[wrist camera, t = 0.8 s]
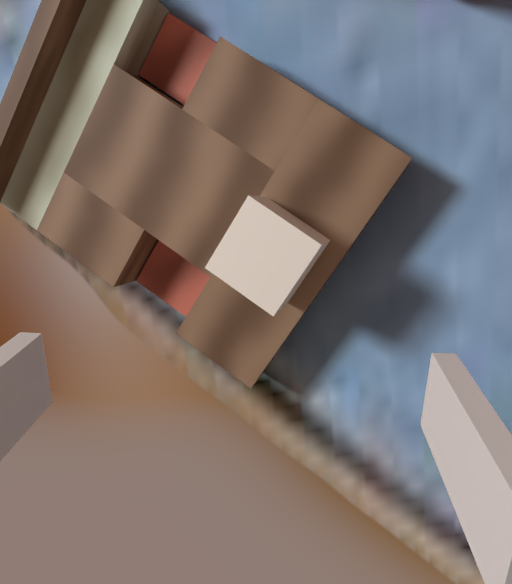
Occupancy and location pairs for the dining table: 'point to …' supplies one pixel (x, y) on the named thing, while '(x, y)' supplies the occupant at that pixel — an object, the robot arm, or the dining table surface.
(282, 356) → the dining table surface
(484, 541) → the robot arm
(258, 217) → the block
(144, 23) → the wooden board
